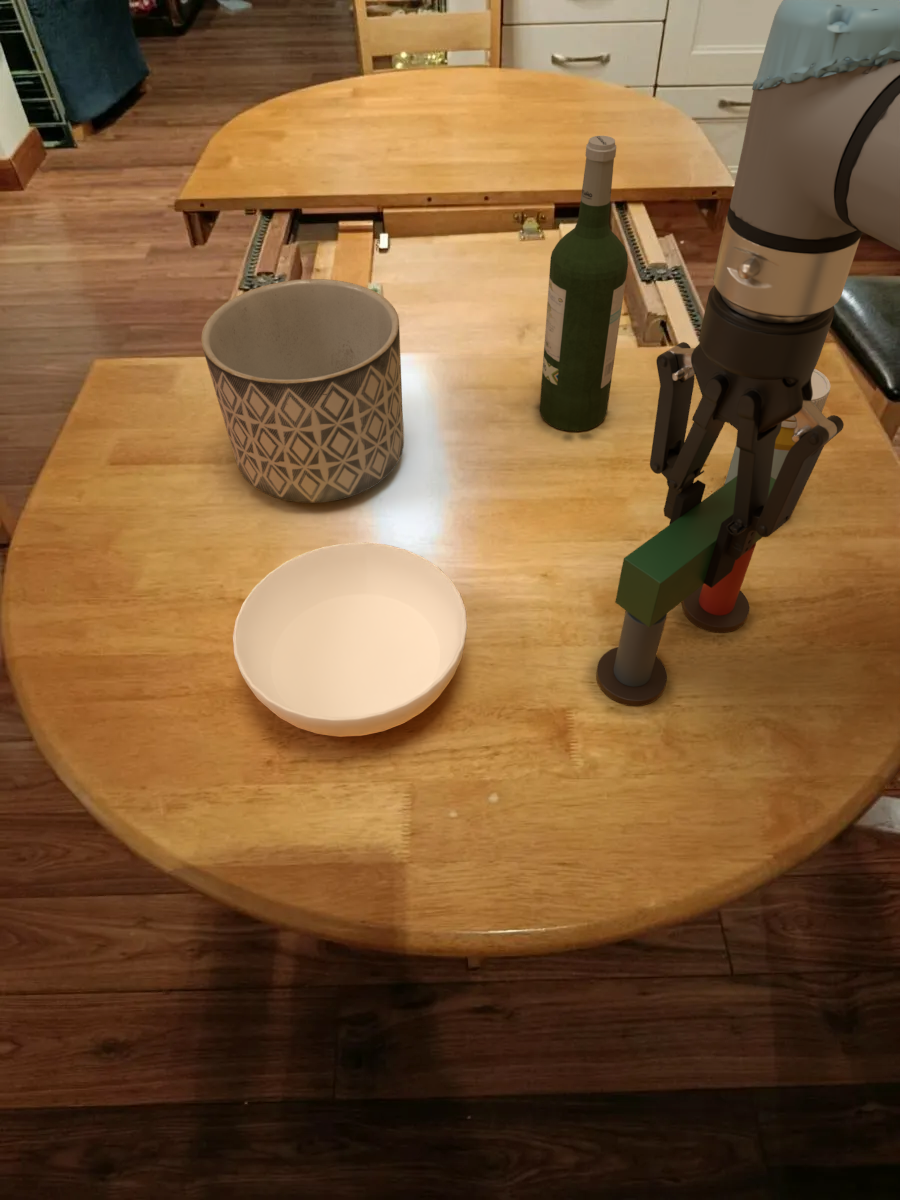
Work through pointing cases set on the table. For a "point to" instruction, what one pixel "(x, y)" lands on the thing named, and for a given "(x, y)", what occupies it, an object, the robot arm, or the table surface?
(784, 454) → the bottle
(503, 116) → the table surface
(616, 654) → the grey cylinder on disc
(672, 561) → the green bar
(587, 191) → the wine bottle
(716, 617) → the red peg on stand
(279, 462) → the planter
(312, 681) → the bowl
